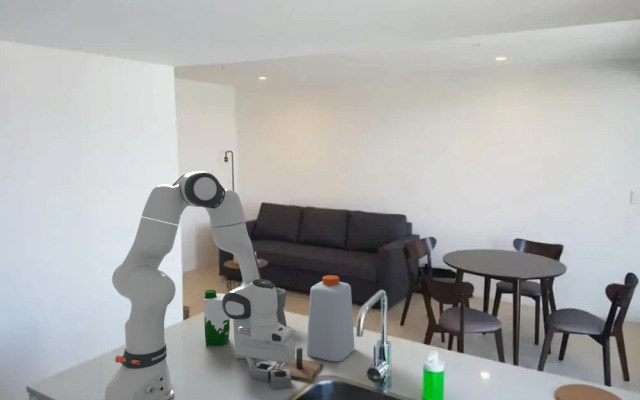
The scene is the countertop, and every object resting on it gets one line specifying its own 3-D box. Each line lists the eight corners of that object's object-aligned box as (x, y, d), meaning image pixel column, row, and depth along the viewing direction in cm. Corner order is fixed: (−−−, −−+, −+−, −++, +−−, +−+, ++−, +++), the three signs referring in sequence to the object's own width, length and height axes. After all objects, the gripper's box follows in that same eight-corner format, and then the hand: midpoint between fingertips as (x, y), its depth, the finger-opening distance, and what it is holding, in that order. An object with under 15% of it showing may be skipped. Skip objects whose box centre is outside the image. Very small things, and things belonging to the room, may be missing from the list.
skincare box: (259, 351, 177) (259, 312, 175) (258, 359, 171) (257, 318, 169) (236, 352, 176) (235, 312, 174) (234, 359, 170) (233, 318, 168)
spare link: (291, 388, 150) (291, 377, 150) (271, 390, 149) (271, 379, 149) (288, 379, 156) (288, 368, 156) (270, 380, 155) (270, 370, 155)
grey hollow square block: (268, 382, 154) (268, 372, 153) (251, 379, 156) (251, 368, 156) (276, 374, 159) (276, 364, 159) (260, 371, 162) (260, 361, 161)
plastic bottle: (321, 341, 186) (321, 269, 183) (358, 348, 179) (358, 274, 176) (302, 356, 173) (301, 279, 169) (340, 365, 166) (341, 285, 163)
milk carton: (208, 337, 189) (207, 287, 187) (231, 337, 189) (230, 287, 186) (202, 347, 180) (201, 294, 178) (227, 347, 180) (225, 295, 178)
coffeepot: (266, 320, 207) (266, 279, 205) (288, 321, 207) (288, 279, 204) (260, 335, 192) (260, 290, 190) (284, 335, 191) (284, 291, 189)
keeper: (309, 381, 154) (309, 359, 153) (275, 375, 159) (275, 353, 158) (322, 365, 165) (322, 344, 165) (290, 360, 170) (290, 339, 169)
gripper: (230, 329, 157) (231, 370, 158) (288, 338, 150) (289, 380, 151) (240, 322, 163) (241, 362, 164) (296, 330, 156) (297, 371, 157)
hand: (264, 371), depth 158 cm, fingers open, 7 cm apart
